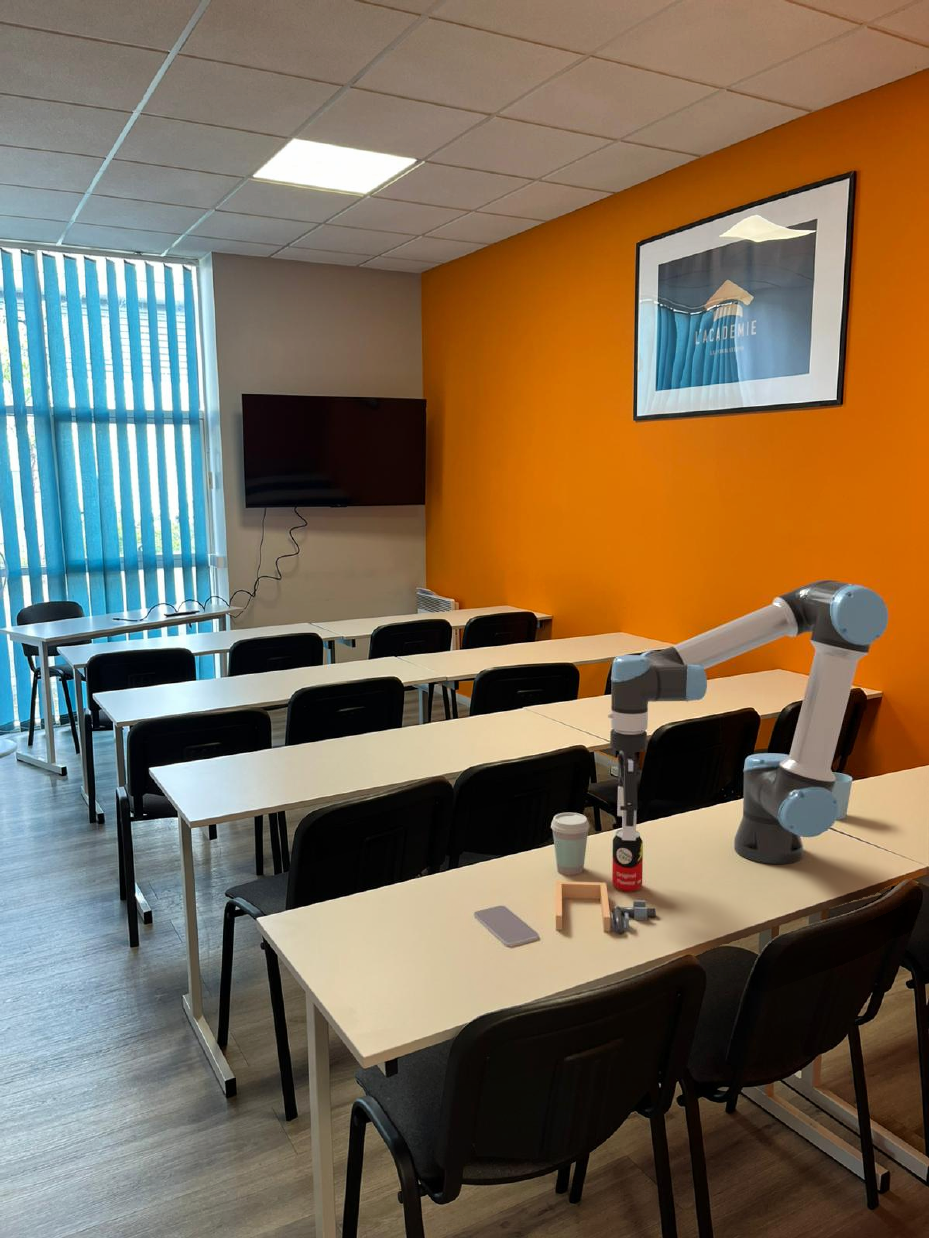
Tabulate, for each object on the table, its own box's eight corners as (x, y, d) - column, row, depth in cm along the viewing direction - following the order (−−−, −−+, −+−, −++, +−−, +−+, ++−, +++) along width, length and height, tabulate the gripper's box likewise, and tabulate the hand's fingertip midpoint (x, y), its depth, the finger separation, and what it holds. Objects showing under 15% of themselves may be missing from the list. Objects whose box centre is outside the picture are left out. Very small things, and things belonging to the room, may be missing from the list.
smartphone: (503, 904, 184) (541, 935, 170) (503, 908, 184) (541, 939, 170) (471, 912, 180) (507, 944, 167) (471, 916, 181) (507, 949, 167)
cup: (835, 823, 225) (837, 783, 224) (811, 813, 232) (813, 775, 230) (857, 818, 228) (859, 778, 227) (832, 809, 235) (834, 770, 234)
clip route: (654, 911, 180) (654, 900, 180) (659, 935, 170) (660, 924, 170) (607, 910, 181) (607, 899, 181) (610, 934, 171) (610, 922, 171)
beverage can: (606, 883, 193) (607, 830, 192) (631, 878, 196) (631, 825, 194) (622, 895, 188) (623, 841, 186) (648, 889, 190) (648, 835, 188)
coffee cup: (588, 862, 204) (588, 811, 203) (590, 878, 196) (590, 825, 194) (551, 861, 205) (550, 811, 204) (550, 877, 197) (550, 825, 195)
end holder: (605, 896, 187) (605, 882, 187) (610, 931, 172) (610, 917, 172) (555, 894, 188) (555, 881, 188) (555, 929, 173) (555, 915, 173)
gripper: (607, 714, 199) (605, 806, 202) (614, 746, 175) (611, 849, 178) (641, 715, 198) (638, 807, 202) (653, 747, 174) (650, 851, 177)
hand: (626, 827), depth 190 cm, fingers open, 13 cm apart
